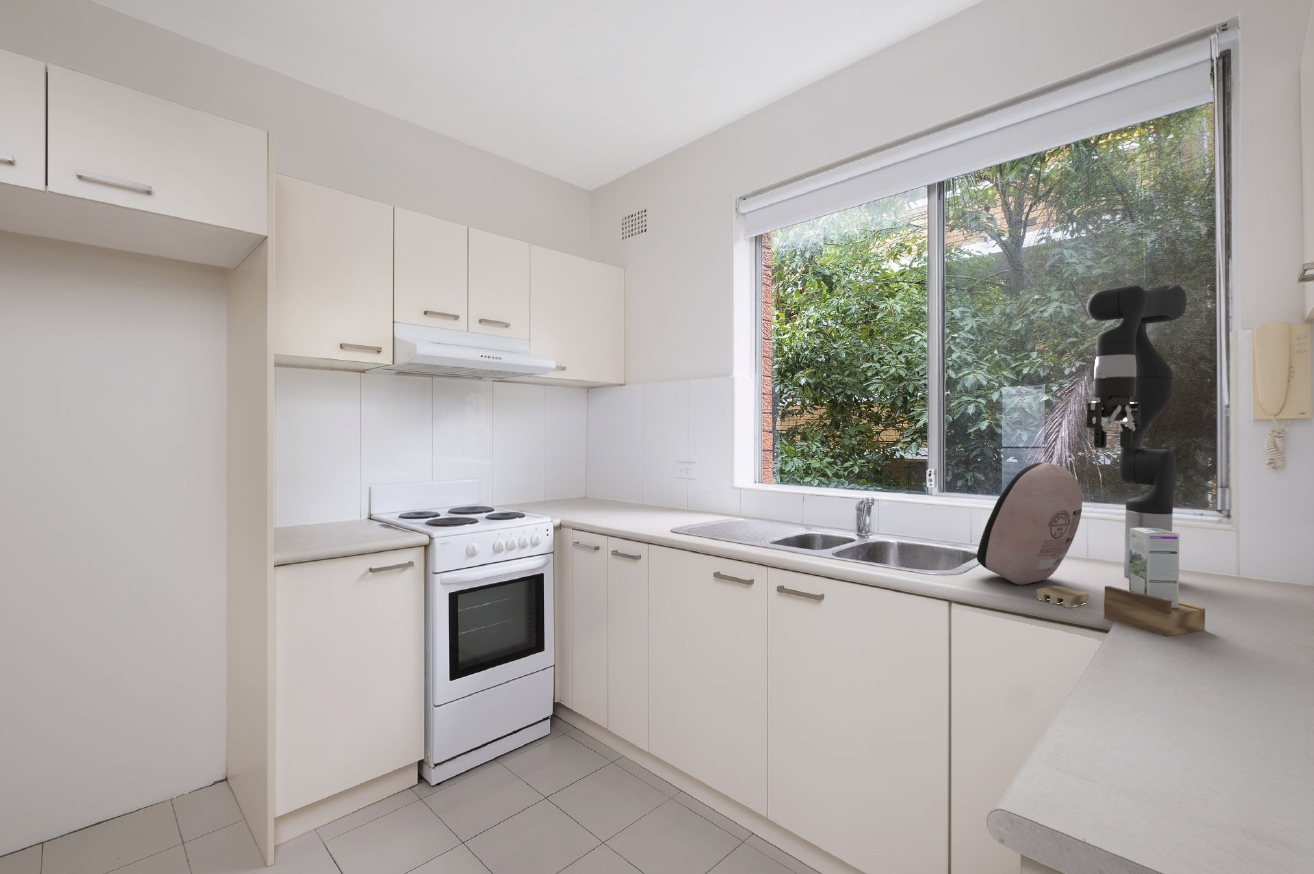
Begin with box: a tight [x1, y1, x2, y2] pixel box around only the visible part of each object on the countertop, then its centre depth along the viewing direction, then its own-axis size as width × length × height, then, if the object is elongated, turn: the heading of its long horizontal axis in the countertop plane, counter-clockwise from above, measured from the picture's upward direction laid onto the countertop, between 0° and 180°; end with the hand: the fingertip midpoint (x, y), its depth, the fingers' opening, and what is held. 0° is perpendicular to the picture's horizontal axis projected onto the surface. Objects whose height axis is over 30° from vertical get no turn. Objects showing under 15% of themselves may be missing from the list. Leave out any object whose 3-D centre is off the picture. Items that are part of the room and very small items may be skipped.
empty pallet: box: [1036, 585, 1089, 609], centre depth 129 cm, size 7×7×2 cm
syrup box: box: [1128, 528, 1180, 608], centre depth 115 cm, size 6×6×14 cm
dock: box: [1103, 585, 1206, 637], centre depth 115 cm, size 11×11×6 cm
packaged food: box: [976, 461, 1083, 586], centre depth 145 cm, size 22×20×30 cm
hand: (1113, 447), depth 133 cm, fingers open, 8 cm apart
